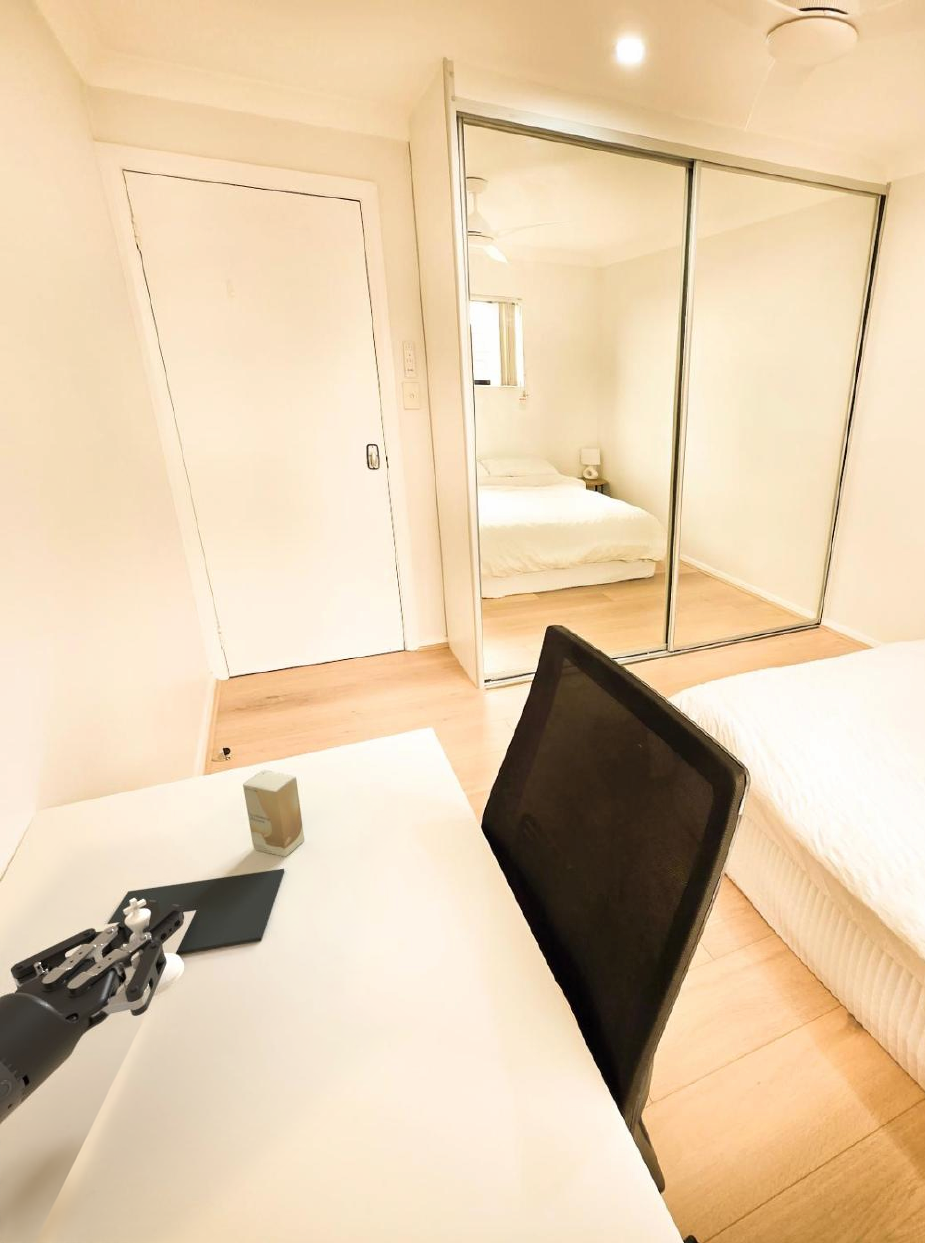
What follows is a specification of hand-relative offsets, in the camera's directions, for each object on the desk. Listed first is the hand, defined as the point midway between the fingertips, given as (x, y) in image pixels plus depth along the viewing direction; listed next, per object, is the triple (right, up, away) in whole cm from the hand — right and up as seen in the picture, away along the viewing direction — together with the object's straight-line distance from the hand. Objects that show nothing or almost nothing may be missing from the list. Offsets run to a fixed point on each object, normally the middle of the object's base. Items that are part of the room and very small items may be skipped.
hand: (167, 909), depth 63 cm
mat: (-12, -11, +21) cm, 26 cm away
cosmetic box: (-8, -6, +35) cm, 36 cm away
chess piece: (-1, -7, -1) cm, 7 cm away
